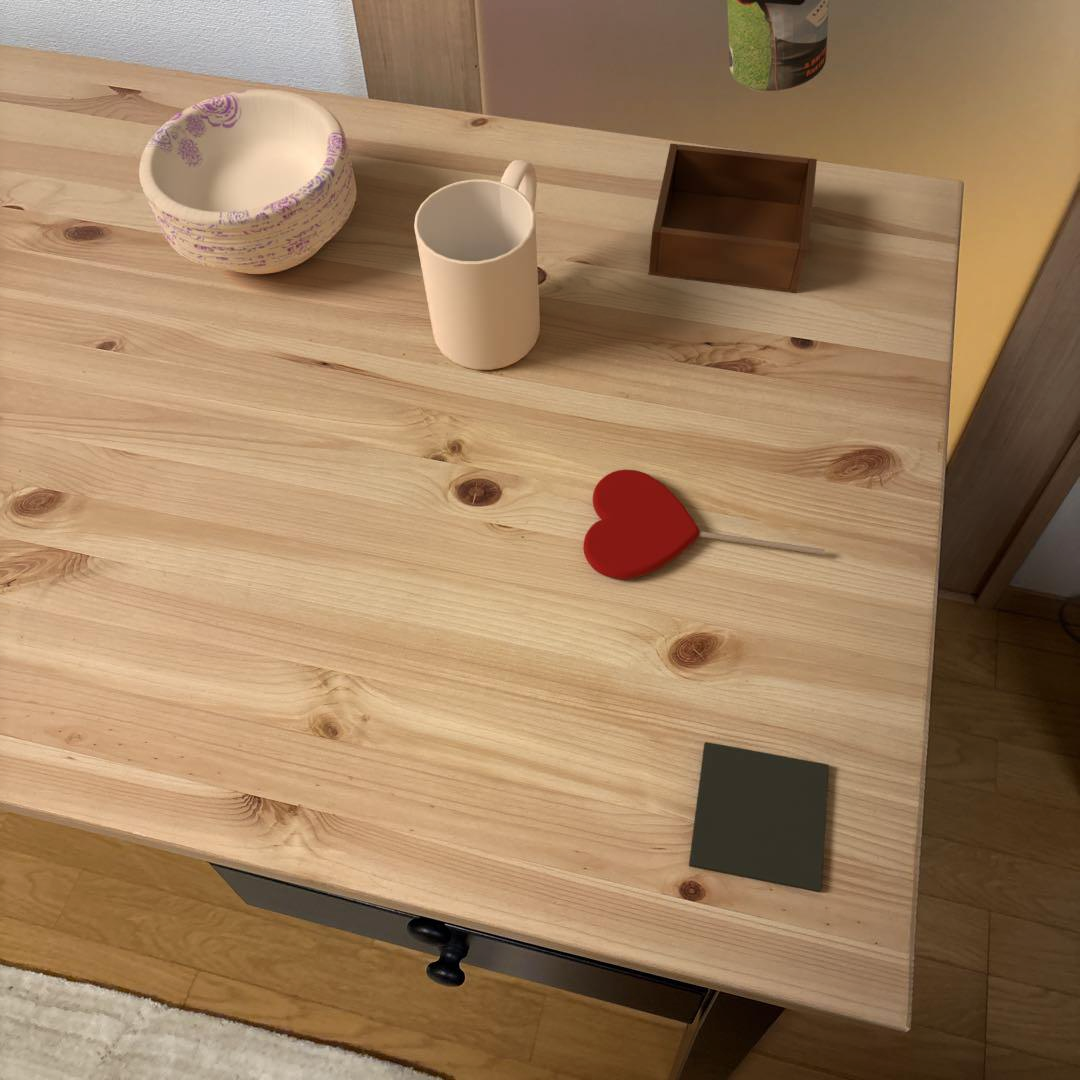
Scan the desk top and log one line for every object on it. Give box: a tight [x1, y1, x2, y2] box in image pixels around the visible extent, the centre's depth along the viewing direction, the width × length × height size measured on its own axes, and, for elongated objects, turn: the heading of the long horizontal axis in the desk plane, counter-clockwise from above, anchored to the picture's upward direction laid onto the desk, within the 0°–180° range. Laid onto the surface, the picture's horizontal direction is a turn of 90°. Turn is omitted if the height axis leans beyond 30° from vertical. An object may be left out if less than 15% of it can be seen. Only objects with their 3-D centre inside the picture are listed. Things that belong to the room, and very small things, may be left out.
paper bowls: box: [138, 88, 357, 275], centre depth 77 cm, size 15×15×8 cm
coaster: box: [688, 741, 830, 893], centre depth 55 cm, size 7×7×1 cm
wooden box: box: [648, 142, 818, 294], centre depth 76 cm, size 11×10×4 cm
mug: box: [413, 159, 541, 371], centre depth 70 cm, size 12×8×10 cm, turn 156°
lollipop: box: [582, 469, 825, 580], centre depth 64 cm, size 8×1×15 cm
